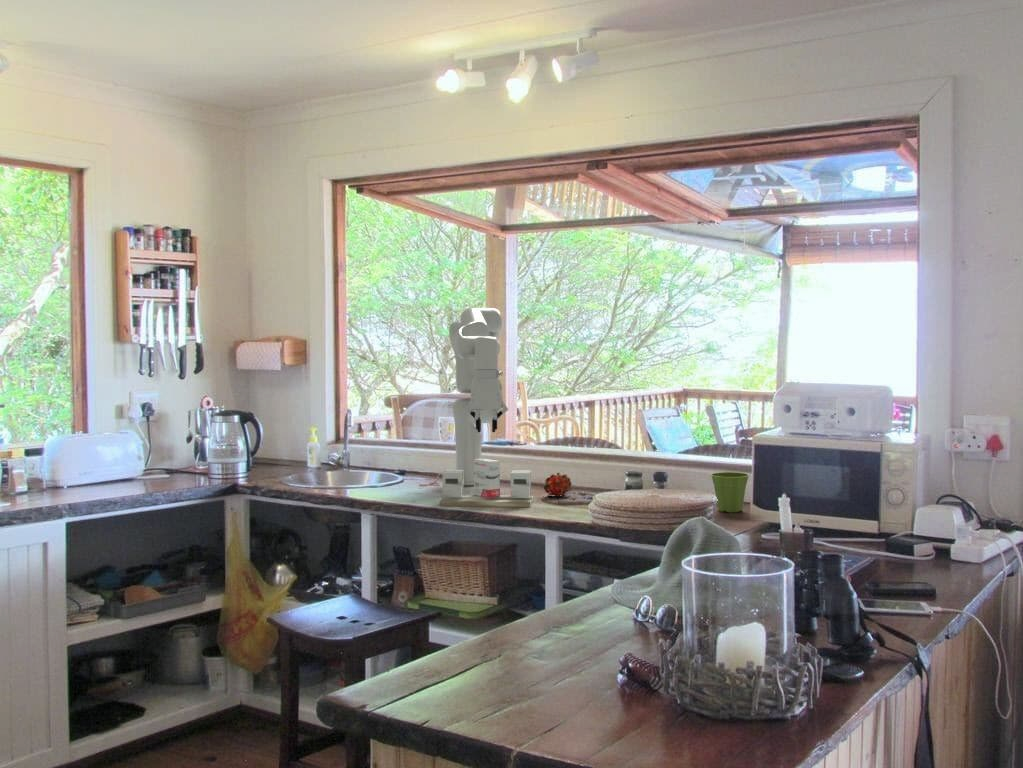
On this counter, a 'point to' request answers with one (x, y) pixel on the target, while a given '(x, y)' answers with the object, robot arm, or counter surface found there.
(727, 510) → the plant pot
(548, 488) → the dragon fruit
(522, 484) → the rail board
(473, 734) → the counter surface
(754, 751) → the counter surface
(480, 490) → the ink box
